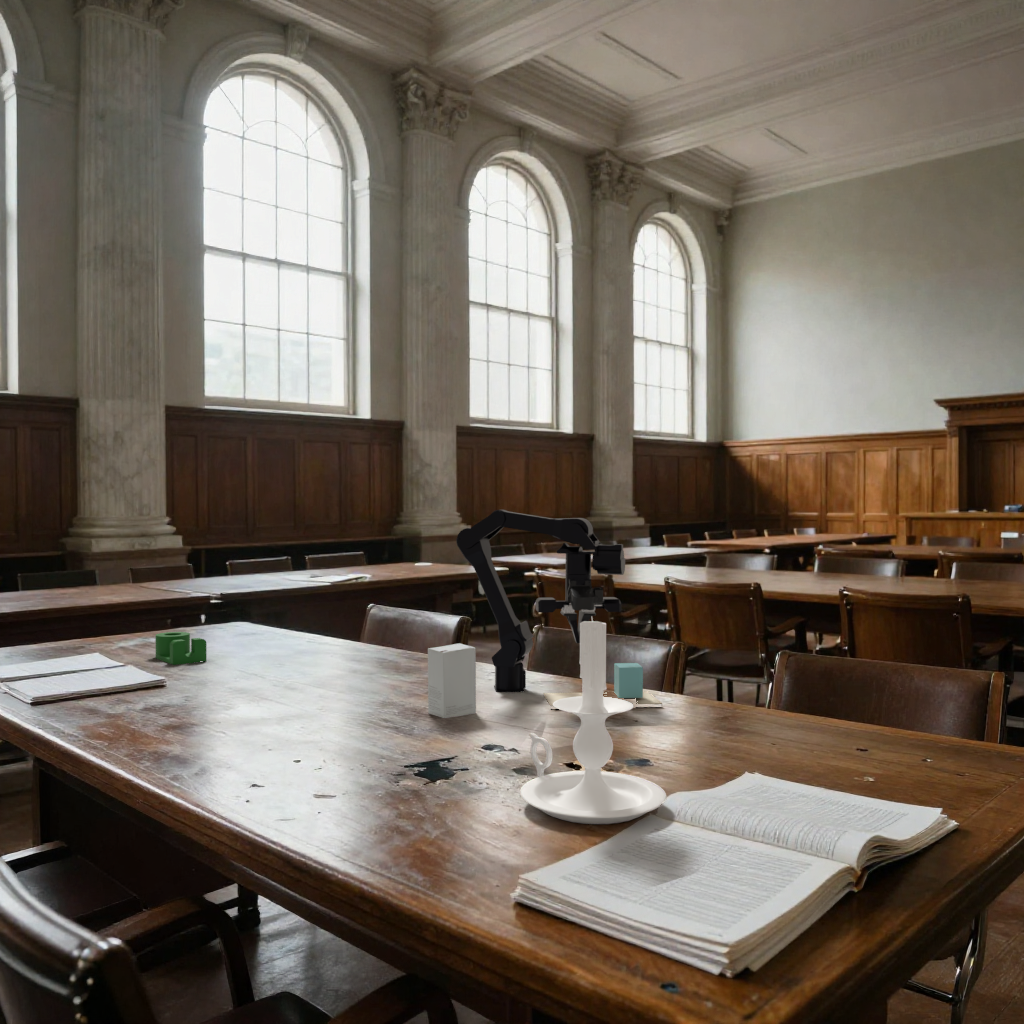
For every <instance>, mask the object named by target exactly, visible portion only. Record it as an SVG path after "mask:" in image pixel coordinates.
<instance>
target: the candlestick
mask: <svg viewBox="0 0 1024 1024" xmlns="http://www.w3.org/2000/svg"><path fill="white" fill-rule="evenodd" d="M590 619H591V621H590V620H589V621H584V622H581V623H580V643H579V661H578V662H579V665H580V666H579V667H580V669H579V670H580V674H579V678H580V679H581V683H582V684H581V687H582V689H581V690H582V692H581V693H582V696H577V697H568V698H563V699H559V700H557V701H555V702H554V703H553V706H554V707H555V708H557V709H559V710H558V711H563V712H566V713H570V714H573V715H575V716H577V717H578V718H579V719H580V725H579V729H577V732H576V733H575V735H574V738H573V741H572V751H573V754H574V756H575V758H576V759H577V761H578V763H579V764H580V765H581V766H582V767H584V770H573V771H572V770H571V771H560V772H554V773H548V774H545V773H544V771H545V769H547V768H549V767H550V766H551V765H552V762H553V749H552V746H551V744H550V742H549V741H548V740H547V739H546V738H544V737H540V736H539V735H537V734H536V733H534V732H533V733H532V732H531V733H528V736H529V737H530V739H531V744H530V756H531V759H532V762H533V764H534V766H535V768H536V774H537V777H535V778H533V779H531V780H528V781H527V782H525V783H524V784H523V785H522V786H521V788H520V790H519V794H520V797H521V799H522V800H523V801H524V802H526V803H527V804H528V805H530V806H532V807H534V808H536V809H538V810H540V811H541V812H543V813H545V814H546V815H549V816H551V817H553V818H556V819H559V820H562V821H566V822H571V823H578V824H584V825H588V824H589V825H612V824H620V823H623V822H624V823H625V822H629V821H632V820H635V819H637V818H640V817H642V816H644V815H645V814H647V813H648V812H652V811H654V810H657V809H658V808H660V807H661V806H662V805H663V804H662V802H663V801H664V800H665V799H666V800H667V797H668V796H667V792H666V791H665V790H664V789H663V788H662V787H661V786H660V785H658V784H656V783H654V782H653V781H650V780H648V779H645V778H643V777H638V776H635V775H630V774H627V773H622V772H621V773H620V772H612V771H603V770H602V768H603V767H604V766H605V765H606V764H607V763H608V762H609V760H610V759H611V757H612V755H613V752H614V743H613V738H612V737H611V734H610V733H609V730H608V729H607V727H606V720H607V718H608V717H611V716H614V715H616V714H617V715H618V714H621V713H627V712H629V711H631V710H633V709H634V708H633V707H634V705H633V704H632V703H631V702H629V701H626V700H622V699H618V698H612V697H603V692H605V691H606V690H607V687H608V686H607V623H606V622H602V621H598V620H595V621H594V620H593V619H594V618H593V616H591V618H590ZM539 744H541V745H542V747H543V748H544V750H545V755H546V756H545V757H546V758H545V761H544V762H542V761H541V760H540V759H539V756H538V753H537V747H538V745H539ZM661 804H662V805H661ZM660 805H661V806H660Z"/></svg>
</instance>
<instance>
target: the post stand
mask: <svg viewBox="0 0 1024 1024" xmlns="http://www.w3.org/2000/svg"><path fill="white" fill-rule="evenodd" d="M643 691H644V690H643ZM604 692H605V693H604ZM607 692H608V691H603V694H607ZM648 692H650V691H648V690H647V691H644V692H643V698H636V702H637V701H638V702H637V703H638V704H662V705H663V703H662V701H660V700H659V699H658V698H657V697H656V696H654V695H653V694H652V693H651V694H649V693H648ZM543 694H544V696H545V697H544V696H543V697H544V698H545V700H546V699H547V700H546V702H548V704H549V705H550V707H552V706H553V703H554V702H555V701H557V700H559V699H563V698H568V697H577V696H582V692H543V693H542V695H543ZM604 696H607V695H604ZM604 696H603V697H604ZM624 699H635V698H624ZM637 703H636V704H637ZM632 704H633V703H632Z"/></svg>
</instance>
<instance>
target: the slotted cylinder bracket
mask: <svg viewBox="0 0 1024 1024" xmlns="http://www.w3.org/2000/svg"><path fill="white" fill-rule="evenodd" d="M190 634H191V633H190V632H186V631H169V632H168V631H167V632H161V633H157V634H155V659H157V660H159V661H162V662H164V663H166V664H169V665H173V666H175V665H176V666H177V665H187V664H186V663H189V664H194V663H193V662H200V661H206V662H207V641H206V639H204V638H201V637H194V638H191V635H190Z"/></svg>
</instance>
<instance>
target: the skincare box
mask: <svg viewBox="0 0 1024 1024" xmlns="http://www.w3.org/2000/svg"><path fill="white" fill-rule="evenodd" d="M476 650H477V648H476V647H474V646H472V645H467V644H463V643H461V642H459V643H454V644H447V645H443V646H436V647H430V648H429V647H428V648H427V703H428V705H427V707H428V708H427V710H428V714H429V715H432V716H436V717H439V718H443V719H448V718H454V717H455V718H456V717H460V716H461V717H462V716H467V715H473V714H477V694H476V693H477V690H476V689H477V688H476V687H477V686H476V685H477V679H476V678H477V677H476V676H477V672H476V671H477V669H476V668H477V666H476V665H477V663H476V657H477V656H476V655H477V651H476Z"/></svg>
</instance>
